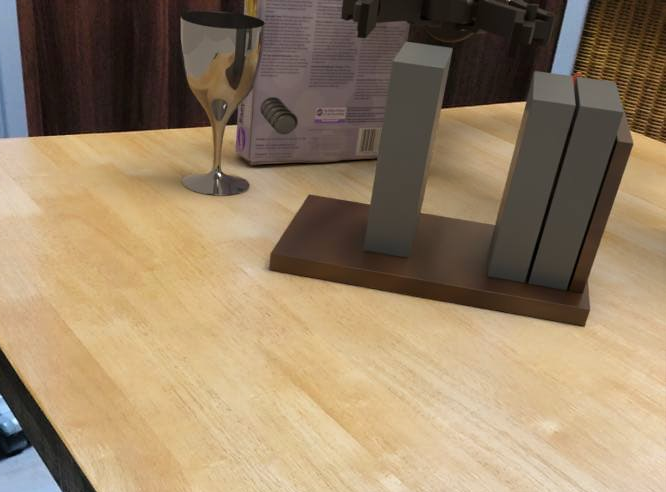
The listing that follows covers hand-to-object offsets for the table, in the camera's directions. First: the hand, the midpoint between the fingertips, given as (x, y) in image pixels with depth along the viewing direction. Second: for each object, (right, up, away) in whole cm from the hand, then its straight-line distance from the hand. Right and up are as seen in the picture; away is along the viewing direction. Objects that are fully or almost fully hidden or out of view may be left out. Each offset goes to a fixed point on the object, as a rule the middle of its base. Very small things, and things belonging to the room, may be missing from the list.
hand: (438, 30), depth 77 cm
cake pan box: (-9, -1, +23) cm, 25 cm away
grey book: (-4, -18, +2) cm, 19 cm away
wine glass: (-21, -8, +14) cm, 26 cm away
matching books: (+8, -21, 0) cm, 22 cm away
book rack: (0, -20, +2) cm, 20 cm away
